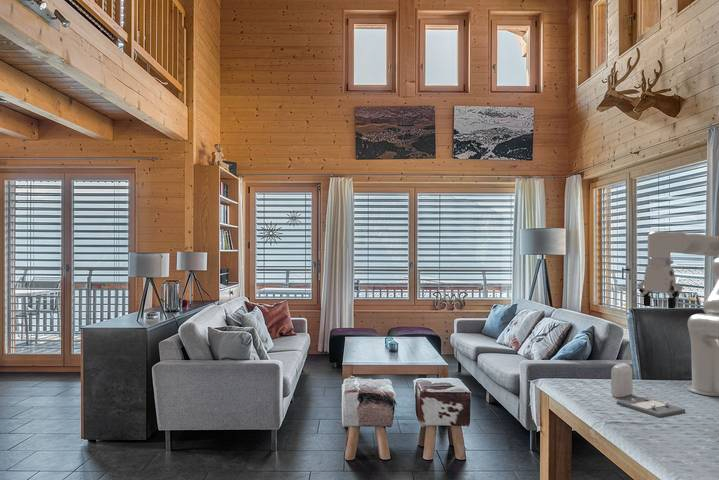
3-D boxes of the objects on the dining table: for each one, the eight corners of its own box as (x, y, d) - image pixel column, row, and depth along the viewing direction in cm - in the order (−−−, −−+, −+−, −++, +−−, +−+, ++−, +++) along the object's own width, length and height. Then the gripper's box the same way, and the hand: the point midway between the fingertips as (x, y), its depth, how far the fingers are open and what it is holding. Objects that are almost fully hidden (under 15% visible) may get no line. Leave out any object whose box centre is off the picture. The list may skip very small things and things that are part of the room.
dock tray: (642, 399, 181) (642, 392, 181) (685, 412, 166) (685, 404, 167) (616, 403, 176) (616, 397, 176) (658, 417, 161) (658, 409, 161)
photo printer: (623, 392, 191) (622, 361, 192) (634, 394, 188) (633, 363, 188) (609, 396, 186) (609, 364, 186) (620, 398, 182) (620, 366, 183)
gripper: (687, 263, 179) (688, 309, 178) (644, 263, 194) (644, 304, 194) (675, 263, 176) (675, 309, 175) (631, 262, 191) (631, 305, 191)
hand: (659, 307), depth 184 cm, fingers open, 9 cm apart
